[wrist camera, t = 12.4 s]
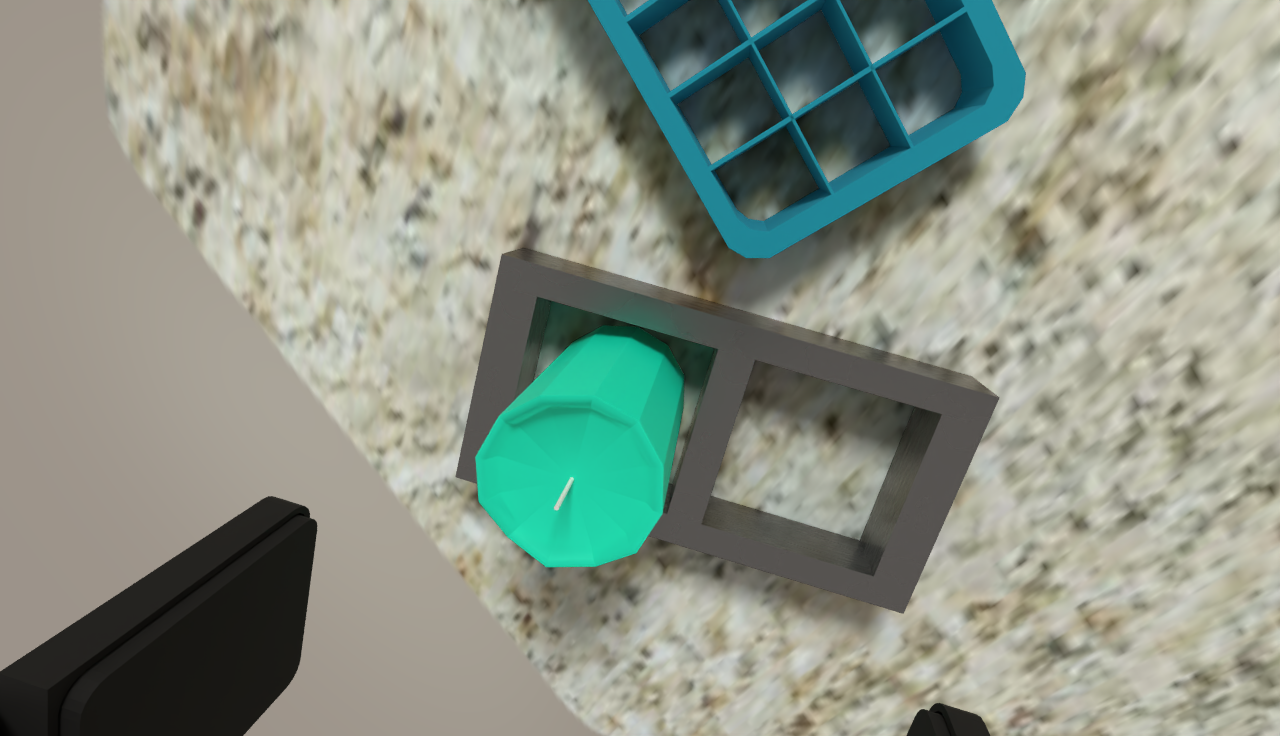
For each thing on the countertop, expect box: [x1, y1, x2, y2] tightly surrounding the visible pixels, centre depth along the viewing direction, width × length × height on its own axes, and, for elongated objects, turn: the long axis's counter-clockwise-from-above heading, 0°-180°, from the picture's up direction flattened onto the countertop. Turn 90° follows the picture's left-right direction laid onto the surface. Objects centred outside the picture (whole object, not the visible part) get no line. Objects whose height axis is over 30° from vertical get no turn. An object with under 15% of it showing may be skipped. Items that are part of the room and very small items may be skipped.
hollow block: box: [456, 248, 999, 614], centre depth 29 cm, size 20×10×3 cm, turn 75°
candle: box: [475, 325, 684, 567], centre depth 25 cm, size 6×6×12 cm
